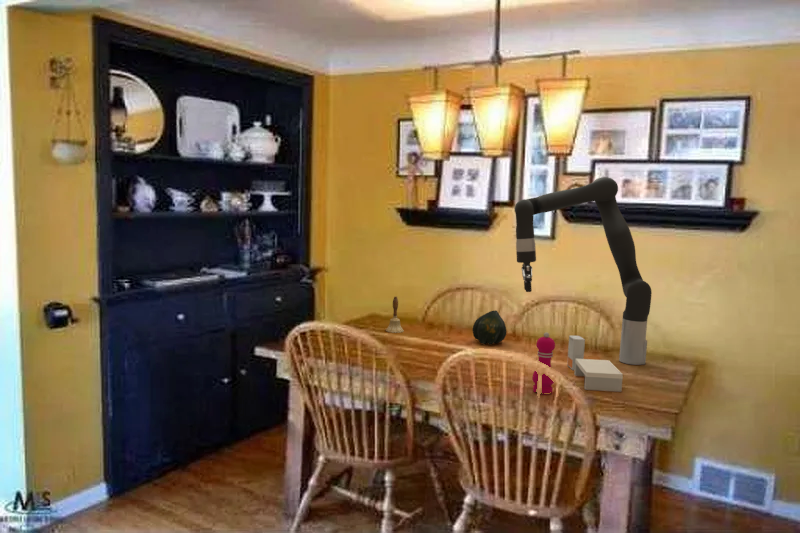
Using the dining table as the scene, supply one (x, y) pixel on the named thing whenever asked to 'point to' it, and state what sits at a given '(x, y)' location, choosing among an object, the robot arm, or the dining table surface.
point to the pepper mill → (544, 361)
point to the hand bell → (395, 320)
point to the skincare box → (575, 350)
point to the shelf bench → (599, 374)
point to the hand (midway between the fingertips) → (527, 290)
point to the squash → (489, 328)
